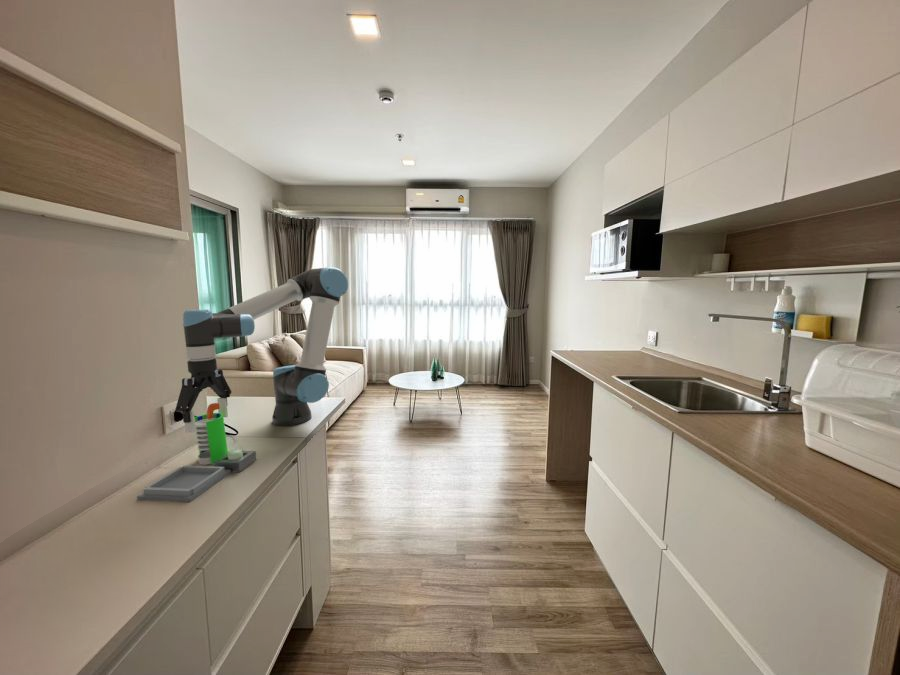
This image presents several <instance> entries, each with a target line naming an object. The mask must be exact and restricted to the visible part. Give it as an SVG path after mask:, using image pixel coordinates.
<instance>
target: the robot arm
mask: <svg viewBox="0 0 900 675" xmlns="http://www.w3.org/2000/svg"><path fill="white" fill-rule="evenodd" d="M348 282H349V281H348V277H347V276H346V274H345V273H344V272H343V271H342V270H341V269H339V268H337V267H331V266H325V267H320V268H319V267H318V268H312V269H308V270H306V271H304V272H302V273H299V274H297V275H295V276H293V277H291V278H289V279H287V280H286V283H284V284H282V285H280V286H276V287H274V288H272V289H270V290H267V291H266V292H263V293H260V294H258V295H256V296H253V297H250V298H249V299H247V300H244V301H242V302H239V303H237V304H234V305H233V306H231V307H228V308H226V309H223V310H221V311H219V312H214V313H213V312H212V310H211V309H188V310H187V309H186V310H185V311H184V312H183V313H182V314H183V315H182V317H183V318H182V321H183V324H182V326H183V332H184V341H185V350H186V359H188V360H187V372H188V373H190V374H191V375H190V378H186V377H184V378H182V379H181V389H180V392H179V396H178V398H177V402H176V406H175V412H179V413H182V422H183V423H184V427H185V430H184V431H185V433H196V432H197V431H196V426H195V417H196V416H195V411H194V410H193V408H194V405H195V403H196V401H197V399H198V397H199V396H200V393H201V392H202V391H203V390H204V389H205V390H206V389H207V388H210V390H212V391H213V392H214V393H215V394H216V395H217V396H218V397H217V401H216V403H219V407H220V409H217V411H218V412H217V413H221V414H223V418H228V417H229V414H228V413H229V412H228V398H230V397H231V394H232V390H231V388H230V386H229V384H228V382H227V380H226V378H225V376H224V372H223V370H222V369H218V365H217V359H216V358H215V357H216V356H217V354H216V352H217V351H216V342H215V339H218V340H219V339H224V338H225V339H226V338H227V339H229V338H240V337H242V338H243V337H248V336H251V335H253V334H254V332H255V327H256V326H255V321H254V320H256V319H258V318H260V317H262V316H265V315H267V314H269V313H272V312H274V311H275V310H277V309H280V308H282V307H284V306H286V305H289V304H290V303H293V302H294V301H298V302H301V301H303V300H305V299H309V300H310V301H311V307H310V311H309V312H310V313H309V317H308V320H307V322H308V323H307V328H306V332H305V337H304V340H303V348H302V353H301V357H300V361H299V362H297V363H296V364H293V365H292V364H291V365H284V366H280V367H276V368H274V369H273V371H272V379H273V389H274V399H275V405H274V409H273V414H272V420H271V421H272V424H273V425H275V426H278V427H279V426H281V427H282V426H283V427H284V426H285V427H286V426H294V425H298V424H303V423H305V422H307V421H309V420H310V419H312V410H311V408H310V406H309V404H313V403H317V402H320V401H321V399H323V398H324V397H326V395H327V393H328V391H329V387H330V383H329V380H328V377H326V373H327V368H326V367H325V366H324V363H325V362H324V361H325V357H326V352H327V347H328V342H329V336H330V333H331V332H330V331H331V326H332V321H333V317H334V311H335V307H337V306H338V305H339V304H340V299H341V297H342V296H344V295H345V294H346V293H347V291H348V288H349V283H348ZM308 403H309V404H308Z"/></svg>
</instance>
